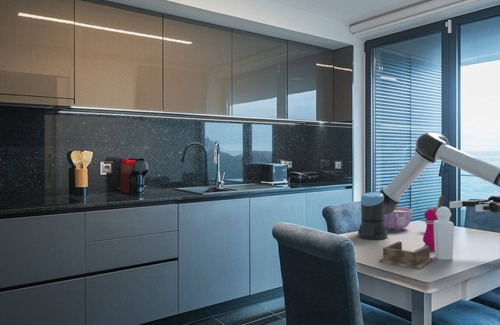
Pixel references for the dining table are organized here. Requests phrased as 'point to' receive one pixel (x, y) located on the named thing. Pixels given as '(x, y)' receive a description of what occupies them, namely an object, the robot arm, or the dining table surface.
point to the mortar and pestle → (439, 203)
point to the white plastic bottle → (443, 234)
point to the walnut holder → (406, 256)
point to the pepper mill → (430, 228)
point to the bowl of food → (398, 218)
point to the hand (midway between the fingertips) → (462, 206)
